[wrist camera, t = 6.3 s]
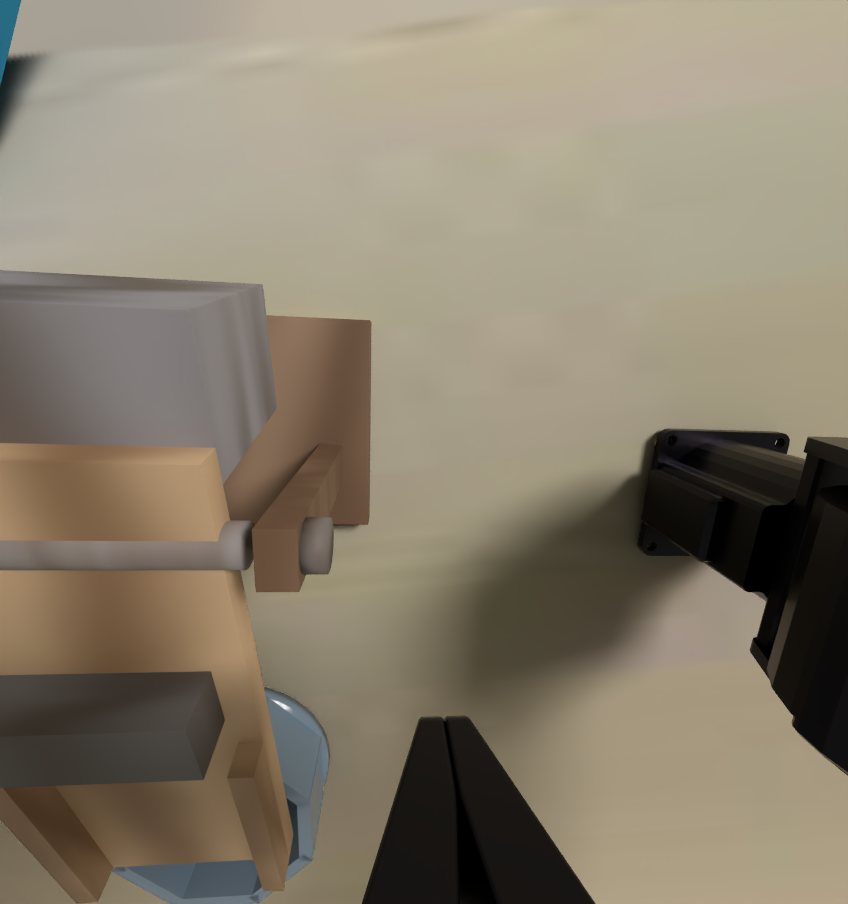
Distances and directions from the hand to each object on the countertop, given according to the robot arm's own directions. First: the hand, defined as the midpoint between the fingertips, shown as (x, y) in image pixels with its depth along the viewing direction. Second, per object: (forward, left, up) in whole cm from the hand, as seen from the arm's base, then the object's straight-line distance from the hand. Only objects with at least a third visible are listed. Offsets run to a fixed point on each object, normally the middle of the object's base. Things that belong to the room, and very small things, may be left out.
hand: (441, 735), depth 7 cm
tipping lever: (+9, +3, -11) cm, 14 cm away
